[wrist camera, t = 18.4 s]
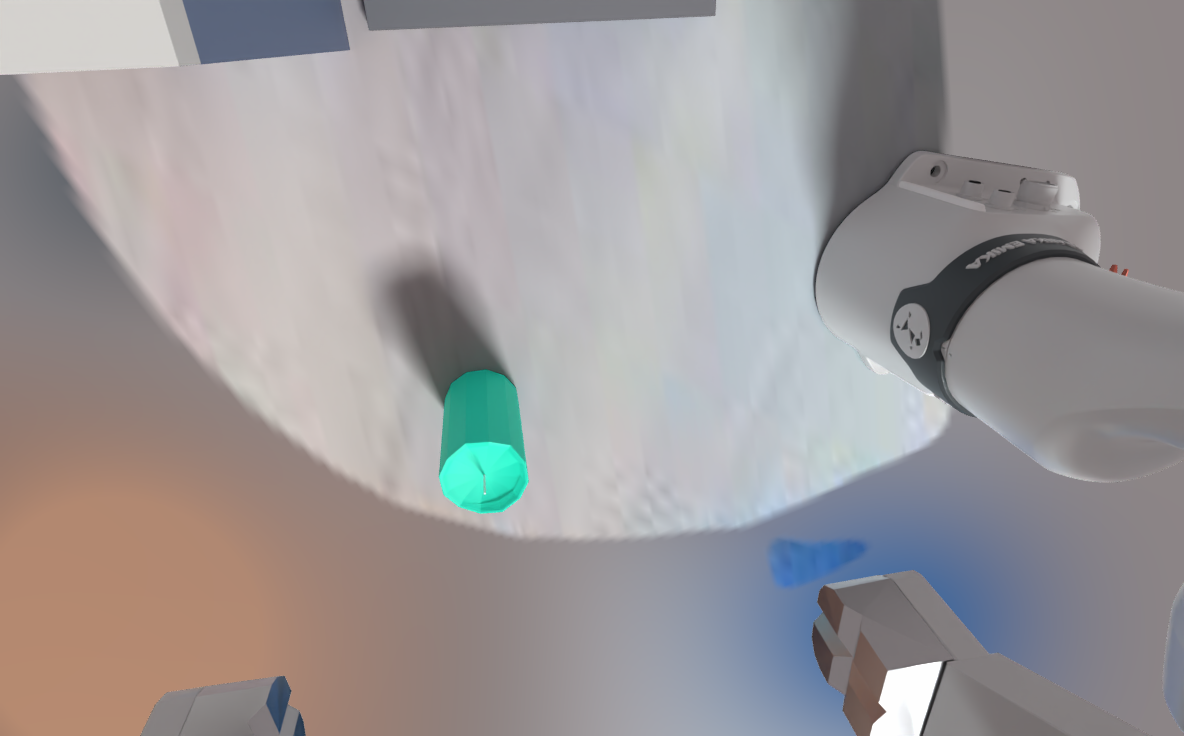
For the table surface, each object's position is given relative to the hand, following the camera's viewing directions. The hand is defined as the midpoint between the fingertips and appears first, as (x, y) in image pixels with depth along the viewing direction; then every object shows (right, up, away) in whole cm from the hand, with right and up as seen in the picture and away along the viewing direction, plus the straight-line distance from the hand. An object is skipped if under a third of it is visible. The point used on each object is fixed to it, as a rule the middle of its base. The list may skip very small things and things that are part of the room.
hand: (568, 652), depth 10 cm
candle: (-9, +2, +42) cm, 43 cm away
